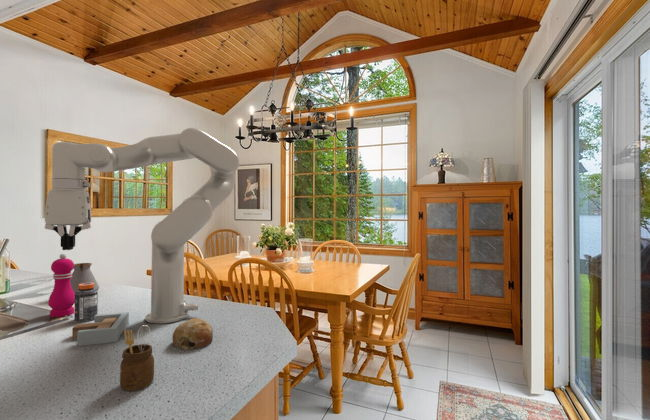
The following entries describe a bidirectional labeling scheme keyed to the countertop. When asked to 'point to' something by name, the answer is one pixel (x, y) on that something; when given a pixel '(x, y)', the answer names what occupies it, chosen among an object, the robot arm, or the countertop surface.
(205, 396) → the countertop surface
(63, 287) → the pepper mill
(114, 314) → the pocket
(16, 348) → the countertop surface
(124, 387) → the utensil holder
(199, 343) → the bread roll
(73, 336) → the T block
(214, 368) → the countertop surface
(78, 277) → the coffee pot
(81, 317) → the pill bottle
